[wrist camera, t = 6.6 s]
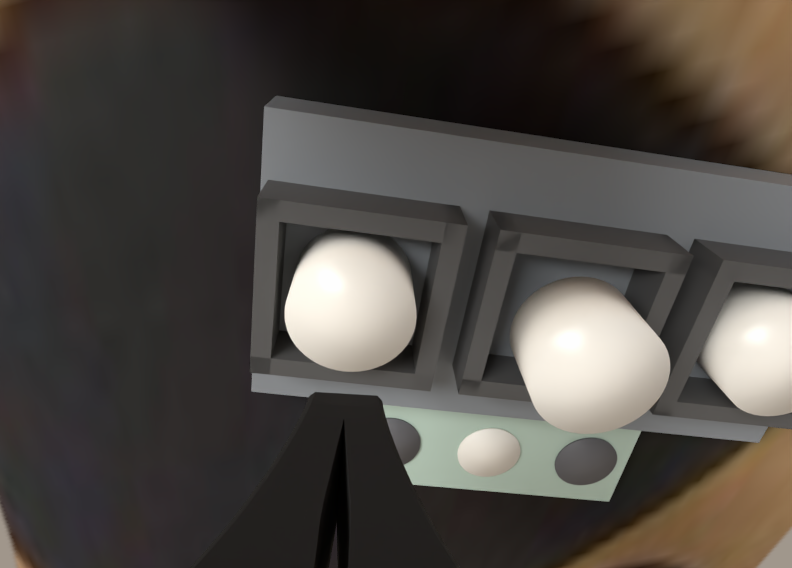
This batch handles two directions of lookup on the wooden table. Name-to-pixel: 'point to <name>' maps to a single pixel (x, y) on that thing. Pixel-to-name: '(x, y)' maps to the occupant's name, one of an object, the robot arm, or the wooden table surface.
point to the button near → (351, 301)
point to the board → (510, 252)
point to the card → (507, 454)
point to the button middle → (587, 356)
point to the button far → (753, 349)
